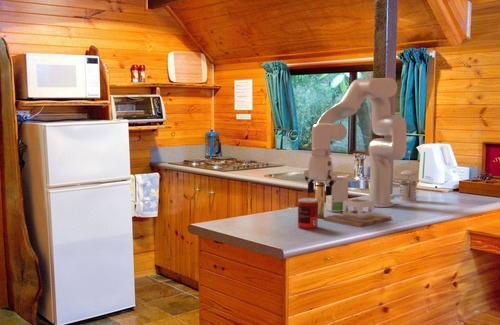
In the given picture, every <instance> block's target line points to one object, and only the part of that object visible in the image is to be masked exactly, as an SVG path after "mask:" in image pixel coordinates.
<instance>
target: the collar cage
mask: <svg viewBox="0 0 500 325" xmlns="http://www.w3.org/2000/svg"><path fill="white" fill-rule="evenodd" d="M349 207H350V208H353V209H350V210H349ZM364 208H367V209H368V210H364ZM342 213H343V217H347V218H352V219H358V220H363V219H367V218H372V217H373V214H374V213H375V211H374V201H371V200H369V199H365V198H364V199H363V198H358V197H354V198H351V199H349V198H348V200H343V212H342Z"/></svg>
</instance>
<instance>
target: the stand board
mask: <svg viewBox="0 0 500 325" xmlns="http://www.w3.org/2000/svg"><path fill="white" fill-rule="evenodd" d="M323 220H324V221H327V222H332V221H333V223H337V222H338V223H337V224H342V223H343V224H345V225H347V224H348V226H352V225H353V226H354V227H357V226H358V228H361V226H362V227H365V226H370V225H373V224H378V223H383V222H387V221H392V216H390V215H383V214H378V213H373V217H372V218H367V219H363V220H358V219H352V218H347V217H343V212H341V213H337V214H333V215H328V216H324V218H323ZM343 224H342V225H343ZM353 226H352V227H353Z"/></svg>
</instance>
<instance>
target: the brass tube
mask: <svg viewBox="0 0 500 325" xmlns="http://www.w3.org/2000/svg"><path fill="white" fill-rule="evenodd" d="M314 199H317V200H318V219H324V217H325V201H326V200H325V199H326V183H325V181H319V180H318V181H314Z"/></svg>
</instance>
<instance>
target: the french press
mask: <svg viewBox="0 0 500 325" xmlns="http://www.w3.org/2000/svg"><path fill="white" fill-rule="evenodd" d="M412 153H413V152H412V150H408V151H407V154H409V155H408V164H410V161H411V160H410V158H411V154H412ZM400 175H402V176H408V177H407V180H401V181H400V182H401V183H400V184H399V187H400V188H399V199H397V202H400V203H404V204H405V203H409V204H411V203H412V204H416V203H419V201H418V200H417V187H418V186H417V184H416V183H417V181H414V180H413V179H414V178H413V177H411V179H410V176H417V175H418V173H417V172H416V171H414V170H410V169H407V170H403V171H401V172H400Z"/></svg>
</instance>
